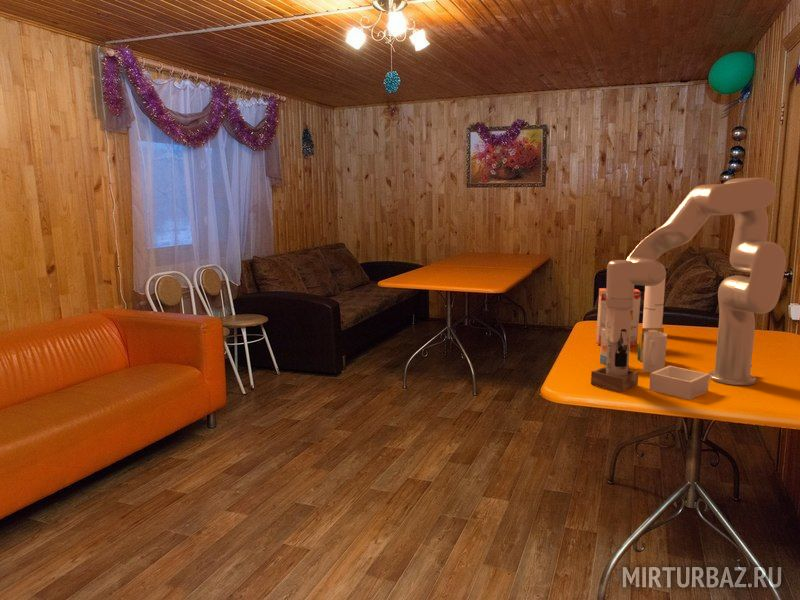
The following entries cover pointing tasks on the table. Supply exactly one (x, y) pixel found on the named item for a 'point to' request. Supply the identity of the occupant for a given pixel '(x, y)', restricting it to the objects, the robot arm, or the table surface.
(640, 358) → the crayon box
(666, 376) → the grey bin
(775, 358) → the table surface
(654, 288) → the cylindrical container
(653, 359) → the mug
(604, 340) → the ink box
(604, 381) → the walnut holder
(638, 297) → the cracker box
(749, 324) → the robot arm
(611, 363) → the energy drink can
